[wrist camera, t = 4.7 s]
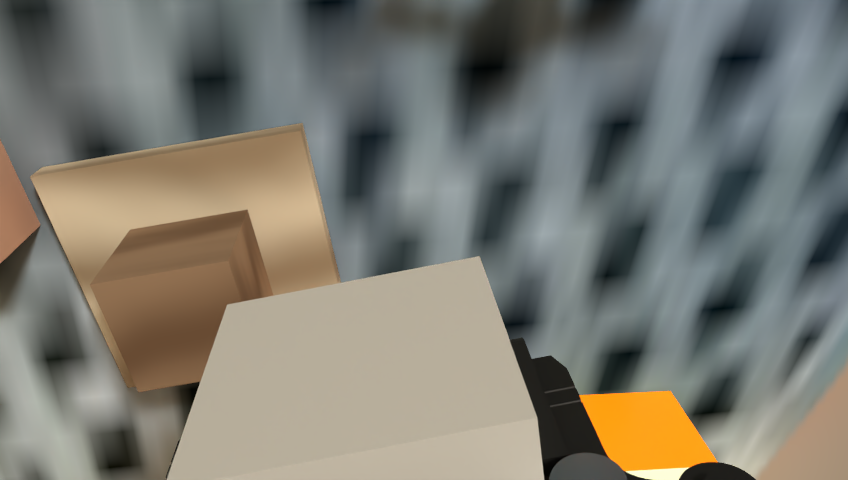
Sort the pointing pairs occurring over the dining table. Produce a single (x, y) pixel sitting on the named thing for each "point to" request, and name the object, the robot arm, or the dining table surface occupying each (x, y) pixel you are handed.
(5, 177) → the terracotta block
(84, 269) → the birch board
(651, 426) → the orange juice
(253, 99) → the dining table surface
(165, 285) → the walnut block
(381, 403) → the grey block
